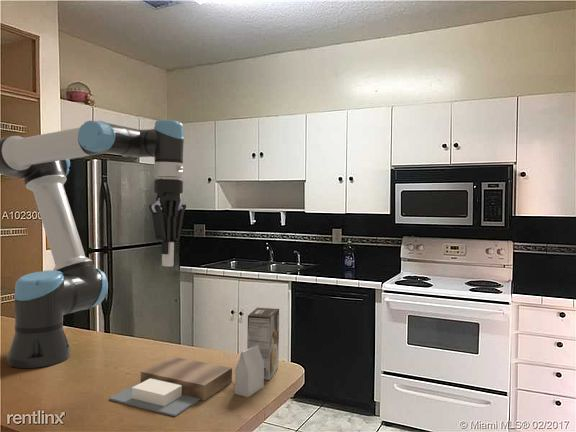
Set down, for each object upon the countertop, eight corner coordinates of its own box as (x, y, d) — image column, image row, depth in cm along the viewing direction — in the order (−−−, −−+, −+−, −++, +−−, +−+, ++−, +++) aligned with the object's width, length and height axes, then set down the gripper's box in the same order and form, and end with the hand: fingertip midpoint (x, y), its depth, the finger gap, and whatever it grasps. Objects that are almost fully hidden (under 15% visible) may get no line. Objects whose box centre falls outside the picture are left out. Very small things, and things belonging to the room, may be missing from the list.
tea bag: (263, 387, 113) (264, 346, 113) (247, 397, 108) (248, 353, 107) (250, 383, 115) (251, 343, 115) (234, 393, 109) (235, 351, 109)
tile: (131, 398, 105) (131, 387, 105) (150, 388, 110) (150, 378, 110) (164, 406, 101) (164, 395, 101) (181, 395, 106) (181, 385, 106)
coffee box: (255, 365, 128) (256, 306, 127) (278, 367, 126) (280, 308, 126) (246, 378, 119) (247, 315, 118) (270, 380, 117) (272, 316, 117)
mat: (109, 399, 104) (109, 397, 104) (136, 385, 112) (136, 383, 112) (175, 416, 97) (175, 414, 97) (199, 400, 105) (199, 398, 105)
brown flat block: (140, 386, 112) (140, 371, 112) (172, 369, 123) (172, 356, 123) (204, 400, 105) (204, 385, 105) (231, 381, 116) (232, 367, 116)
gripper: (164, 177, 119) (163, 270, 120) (194, 179, 131) (193, 264, 132) (141, 177, 122) (140, 267, 123) (172, 179, 134) (171, 262, 135)
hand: (167, 265), depth 128 cm, fingers closed
